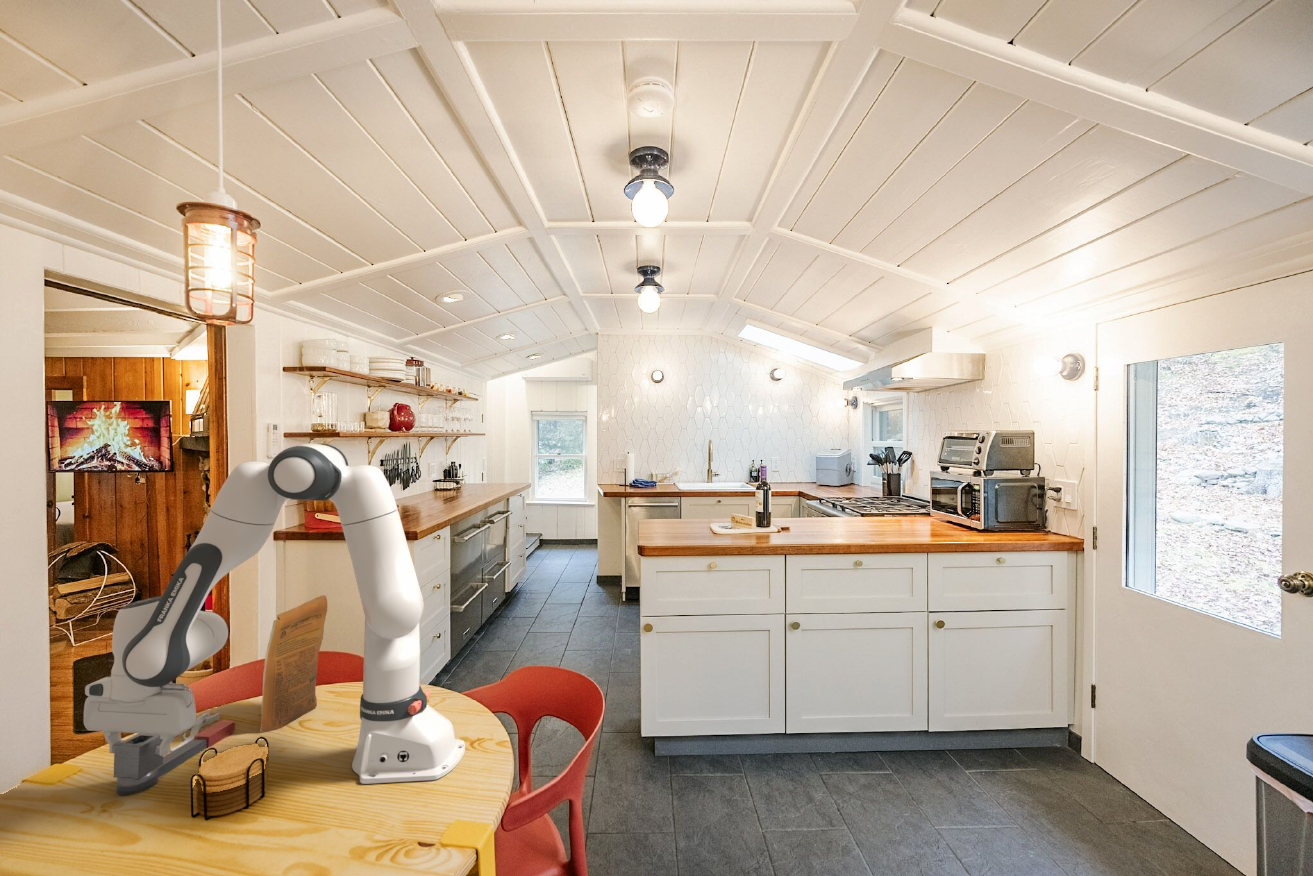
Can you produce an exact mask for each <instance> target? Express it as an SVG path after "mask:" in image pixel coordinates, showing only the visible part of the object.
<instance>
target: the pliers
mask: <svg viewBox="0 0 1313 876" xmlns="http://www.w3.org/2000/svg"><path fill="white" fill-rule="evenodd" d="M220 718H221V713H220V712H217V713H214V714H212V715H211V714H210V711H207V712H204V713H202V715H199V716H197V717H196V723H195V724H194V726H193V727H192V728H191V730H190V734H189V736H188V737H187V736H186V735H187V733H186V732H184V733H183V734H182V739H183V740H184V741H182V742H181V743H180V744H178V745H177V746H175V747H174V748H172V749H170V752H169V753H171V752H172V751H174V750H176V749H178V748H179V747H181V746H183V745H184V744H186V743H188V742H190V741H191V740H193V739H194V736H195V735H197V734H199V731H200V730H201V729H202V727H205V726H207V725H210V724H211V723H214V722H216V721H217V720H220ZM176 736H178V735H176ZM176 736H175V737H176Z"/></svg>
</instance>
